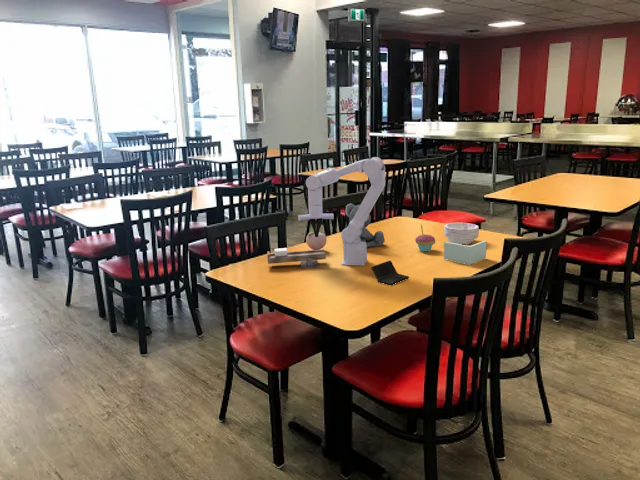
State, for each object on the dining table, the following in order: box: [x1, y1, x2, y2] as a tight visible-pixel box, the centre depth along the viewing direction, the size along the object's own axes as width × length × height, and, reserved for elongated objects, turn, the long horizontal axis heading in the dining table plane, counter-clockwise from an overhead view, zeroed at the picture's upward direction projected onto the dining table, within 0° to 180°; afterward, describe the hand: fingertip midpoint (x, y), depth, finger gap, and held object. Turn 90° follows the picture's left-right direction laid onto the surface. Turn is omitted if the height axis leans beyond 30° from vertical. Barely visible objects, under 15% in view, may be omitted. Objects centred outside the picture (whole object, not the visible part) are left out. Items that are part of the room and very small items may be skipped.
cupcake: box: [414, 224, 436, 252], centre depth 223 cm, size 9×8×12 cm
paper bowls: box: [443, 222, 480, 245], centre depth 235 cm, size 15×15×8 cm
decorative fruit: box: [305, 230, 328, 250], centre depth 229 cm, size 9×8×10 cm
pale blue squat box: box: [443, 240, 488, 266], centre depth 209 cm, size 12×12×8 cm
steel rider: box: [274, 247, 288, 257], centre depth 209 cm, size 5×4×3 cm
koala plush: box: [341, 203, 385, 248], centre depth 236 cm, size 17×18×20 cm
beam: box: [266, 248, 327, 265], centre depth 210 cm, size 23×7×4 cm, turn 95°
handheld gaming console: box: [370, 260, 410, 286], centre depth 189 cm, size 12×7×10 cm
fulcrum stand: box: [299, 258, 320, 270], centre depth 211 cm, size 7×10×4 cm
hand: (316, 236), depth 214 cm, fingers closed
